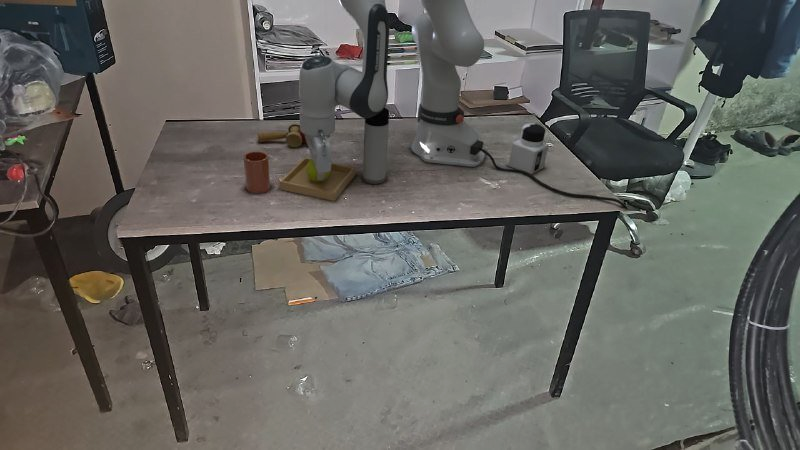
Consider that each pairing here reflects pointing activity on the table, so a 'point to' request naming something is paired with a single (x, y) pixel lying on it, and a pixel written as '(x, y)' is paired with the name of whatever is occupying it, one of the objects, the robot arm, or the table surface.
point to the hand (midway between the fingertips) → (318, 172)
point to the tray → (324, 189)
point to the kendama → (285, 136)
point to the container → (529, 149)
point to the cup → (257, 172)
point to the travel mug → (375, 147)
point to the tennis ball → (314, 172)
